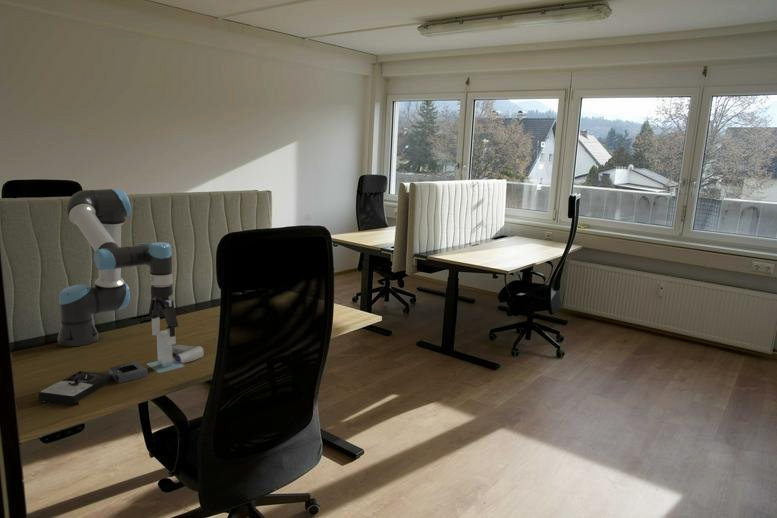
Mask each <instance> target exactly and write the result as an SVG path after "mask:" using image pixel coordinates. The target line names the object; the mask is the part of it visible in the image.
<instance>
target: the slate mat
mask: <svg viewBox="0 0 777 518" xmlns="http://www.w3.org/2000/svg"><path fill="white" fill-rule="evenodd" d="M146 365H147V366H148V367H150V368H151V369H152V370H154V371H155V372H157V373H158V374H161V373H165V372H169V371H172V370H173V371H174V370H177V369H181V368H184V367H186V366H185V365H184V364H183V363H179V362H178V361H176V358H173V365H172V366H168V367H164V368H162V367H161V366H159V365H158V360H155V361H153V362H152V361H151V362H147V363H146Z"/></svg>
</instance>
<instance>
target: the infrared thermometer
mask: <svg viewBox="0 0 777 518" xmlns="http://www.w3.org/2000/svg"><path fill="white" fill-rule="evenodd" d="M204 353H205V351H204V347H202V346H201V345H196V346H195V345H194V346H193V345H185V344H173V345H172V354H173V355H174V354H175V355H176V356H175V360H176V361H178V362H179V363H181V364H187V363H189V362H193V361H197V360H198V359H201V358H204V356H205V354H204Z"/></svg>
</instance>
